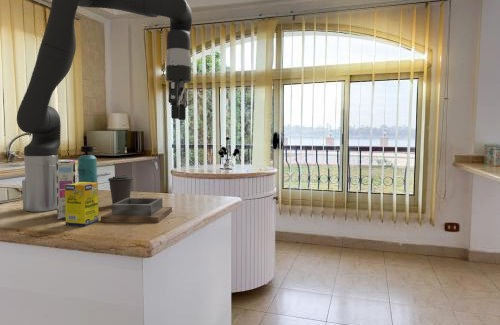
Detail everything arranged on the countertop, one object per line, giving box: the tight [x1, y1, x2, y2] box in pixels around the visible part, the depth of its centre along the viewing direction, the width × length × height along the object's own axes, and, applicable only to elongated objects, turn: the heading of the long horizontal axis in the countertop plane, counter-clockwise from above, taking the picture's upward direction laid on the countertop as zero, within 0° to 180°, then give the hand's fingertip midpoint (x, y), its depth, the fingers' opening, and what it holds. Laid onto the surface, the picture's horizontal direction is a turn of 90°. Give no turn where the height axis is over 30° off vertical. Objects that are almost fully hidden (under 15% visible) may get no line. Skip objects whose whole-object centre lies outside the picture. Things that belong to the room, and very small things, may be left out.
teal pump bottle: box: [77, 145, 99, 183], centre depth 125 cm, size 6×7×20 cm
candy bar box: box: [56, 159, 78, 220], centre depth 102 cm, size 11×5×16 cm, turn 23°
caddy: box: [100, 197, 173, 224], centre depth 101 cm, size 16×14×4 cm
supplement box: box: [65, 182, 100, 227], centre depth 93 cm, size 6×6×11 cm
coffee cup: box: [107, 174, 134, 205], centre depth 117 cm, size 8×8×10 cm
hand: (178, 119), depth 107 cm, fingers open, 8 cm apart
